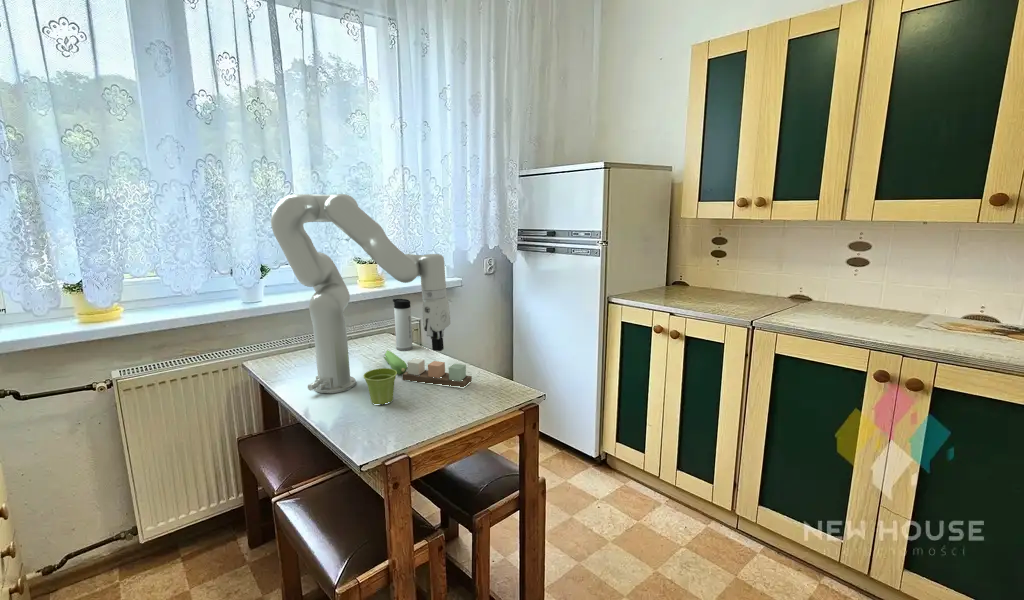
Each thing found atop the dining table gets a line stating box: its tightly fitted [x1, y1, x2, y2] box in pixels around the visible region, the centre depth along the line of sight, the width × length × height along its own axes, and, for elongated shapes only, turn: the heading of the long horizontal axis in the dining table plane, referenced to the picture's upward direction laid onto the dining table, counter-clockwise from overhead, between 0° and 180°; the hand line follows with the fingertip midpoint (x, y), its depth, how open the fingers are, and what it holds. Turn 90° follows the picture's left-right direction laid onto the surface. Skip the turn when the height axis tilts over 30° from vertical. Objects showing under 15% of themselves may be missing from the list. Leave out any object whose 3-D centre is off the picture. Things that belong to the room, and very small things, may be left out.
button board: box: [401, 369, 473, 387], centre depth 158 cm, size 6×22×2 cm, turn 70°
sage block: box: [448, 363, 467, 382], centre depth 155 cm, size 4×4×4 cm
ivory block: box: [406, 358, 426, 376], centre depth 160 cm, size 4×4×4 cm
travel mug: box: [392, 298, 414, 352], centre depth 190 cm, size 6×7×20 cm
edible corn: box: [382, 349, 408, 376], centre depth 171 cm, size 5×20×5 cm
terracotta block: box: [427, 360, 446, 379], centre depth 158 cm, size 4×4×4 cm
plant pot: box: [362, 367, 398, 405], centre depth 142 cm, size 9×9×9 cm
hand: (438, 349), depth 157 cm, fingers closed
